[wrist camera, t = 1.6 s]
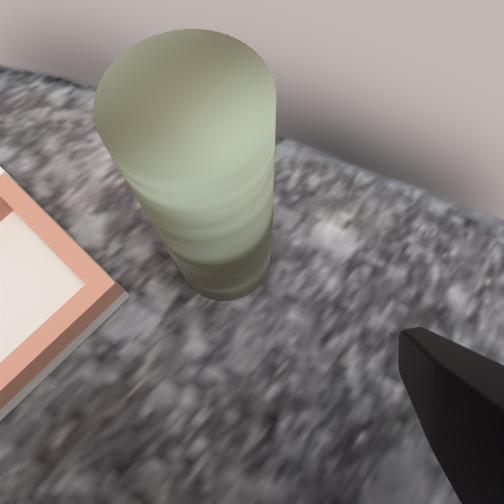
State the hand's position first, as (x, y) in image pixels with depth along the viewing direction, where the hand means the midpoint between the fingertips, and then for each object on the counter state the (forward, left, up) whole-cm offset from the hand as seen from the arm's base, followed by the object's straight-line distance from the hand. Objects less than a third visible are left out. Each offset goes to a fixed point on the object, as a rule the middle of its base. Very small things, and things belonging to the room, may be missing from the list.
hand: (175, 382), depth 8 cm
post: (+5, -5, -13) cm, 15 cm away
